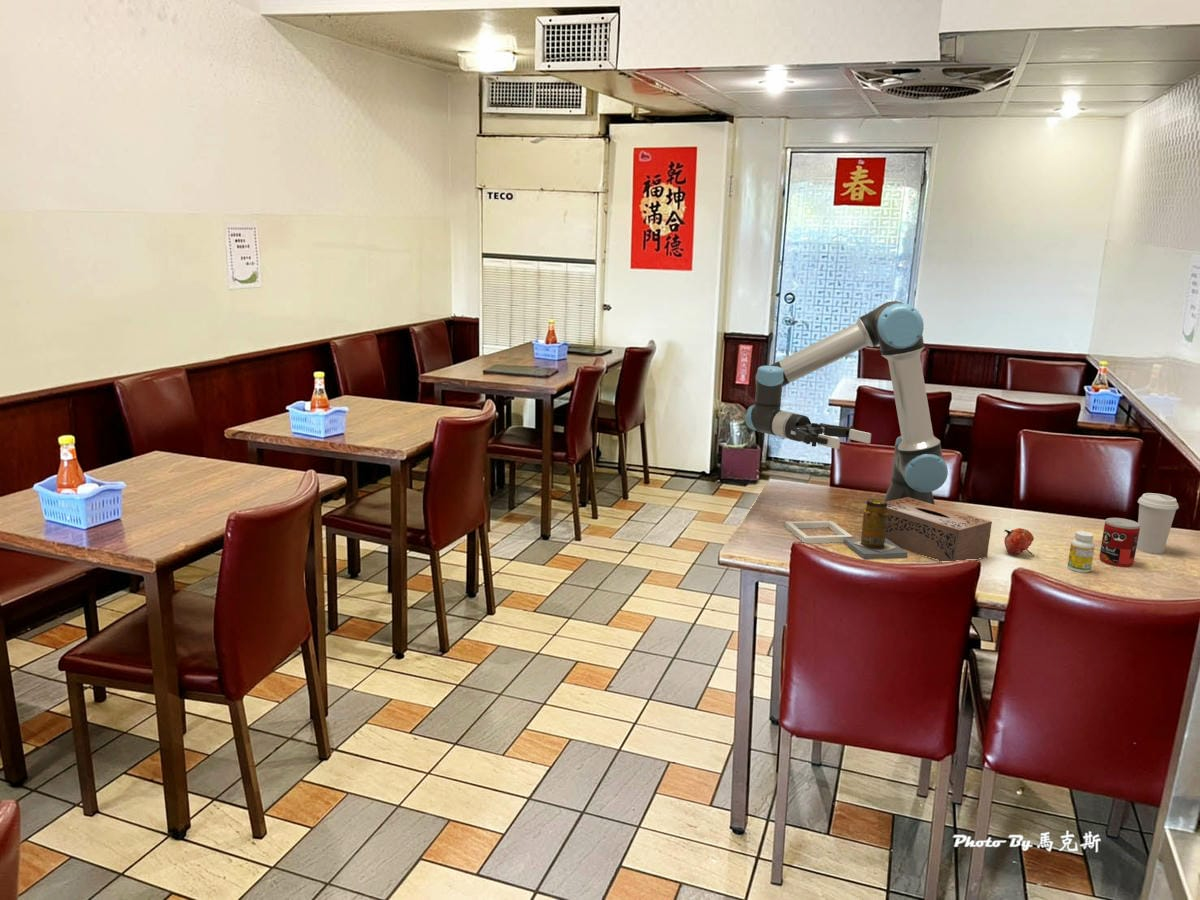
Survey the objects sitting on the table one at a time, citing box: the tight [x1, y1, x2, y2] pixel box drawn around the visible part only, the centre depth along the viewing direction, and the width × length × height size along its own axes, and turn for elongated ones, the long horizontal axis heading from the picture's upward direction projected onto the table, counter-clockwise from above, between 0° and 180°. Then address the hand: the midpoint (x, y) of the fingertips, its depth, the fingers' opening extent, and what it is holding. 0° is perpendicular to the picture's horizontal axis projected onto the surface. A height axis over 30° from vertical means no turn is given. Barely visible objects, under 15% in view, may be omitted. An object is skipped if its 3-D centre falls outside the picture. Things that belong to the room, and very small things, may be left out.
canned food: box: [1099, 517, 1140, 568], centre depth 236 cm, size 8×8×11 cm
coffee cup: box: [1136, 492, 1180, 555], centre depth 246 cm, size 10×10×15 cm
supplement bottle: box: [1067, 530, 1096, 574], centre depth 230 cm, size 5×5×10 cm
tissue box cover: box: [885, 497, 993, 562], centre depth 243 cm, size 26×14×10 cm, turn 36°
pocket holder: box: [784, 520, 854, 544], centre depth 251 cm, size 14×14×2 cm
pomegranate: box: [1003, 527, 1035, 557], centre depth 240 cm, size 7×7×10 cm
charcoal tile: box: [843, 537, 908, 560], centre depth 239 cm, size 12×12×1 cm
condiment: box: [855, 498, 895, 552], centre depth 238 cm, size 7×8×12 cm
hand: (854, 441), depth 241 cm, fingers open, 13 cm apart
